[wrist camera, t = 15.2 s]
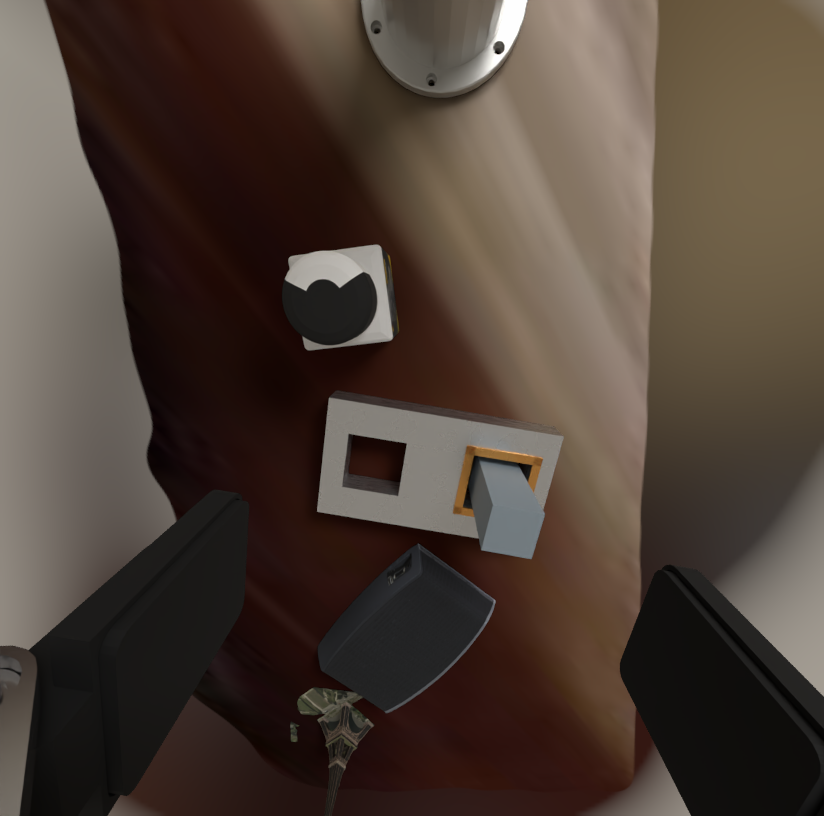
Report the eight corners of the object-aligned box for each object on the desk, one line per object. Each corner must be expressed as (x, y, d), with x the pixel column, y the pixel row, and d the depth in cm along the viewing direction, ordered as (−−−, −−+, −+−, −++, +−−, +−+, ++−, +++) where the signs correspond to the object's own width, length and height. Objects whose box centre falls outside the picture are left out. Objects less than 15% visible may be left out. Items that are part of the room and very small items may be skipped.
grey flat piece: (336, 390, 39) (328, 398, 36) (554, 426, 39) (564, 437, 36) (324, 497, 42) (316, 512, 39) (525, 530, 42) (533, 548, 39)
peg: (476, 450, 40) (492, 505, 30) (514, 457, 40) (544, 514, 30) (467, 485, 41) (481, 550, 31) (505, 492, 41) (531, 559, 31)
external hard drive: (500, 600, 46) (507, 629, 42) (395, 695, 50) (393, 729, 46) (413, 535, 44) (412, 559, 40) (313, 640, 48) (303, 670, 44)
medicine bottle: (399, 333, 37) (386, 348, 26) (326, 342, 38) (281, 360, 26) (389, 254, 36) (370, 232, 24) (313, 264, 36) (258, 247, 25)
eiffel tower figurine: (407, 691, 50) (400, 827, 37) (403, 748, 53) (394, 894, 40) (290, 680, 50) (243, 812, 37) (292, 738, 53) (248, 879, 40)
